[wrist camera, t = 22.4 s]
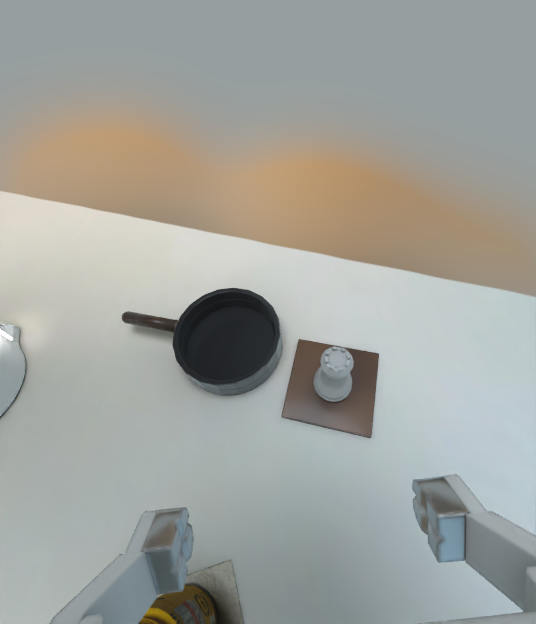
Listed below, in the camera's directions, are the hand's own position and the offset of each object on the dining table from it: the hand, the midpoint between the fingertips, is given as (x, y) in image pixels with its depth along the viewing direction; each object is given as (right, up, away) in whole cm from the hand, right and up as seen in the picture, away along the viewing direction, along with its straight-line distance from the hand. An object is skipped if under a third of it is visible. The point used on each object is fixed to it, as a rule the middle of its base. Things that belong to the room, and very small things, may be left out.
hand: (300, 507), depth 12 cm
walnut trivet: (+7, -2, +28) cm, 29 cm away
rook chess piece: (+7, -2, +27) cm, 28 cm away
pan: (-6, +2, +32) cm, 32 cm away
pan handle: (-16, +5, +32) cm, 36 cm away
